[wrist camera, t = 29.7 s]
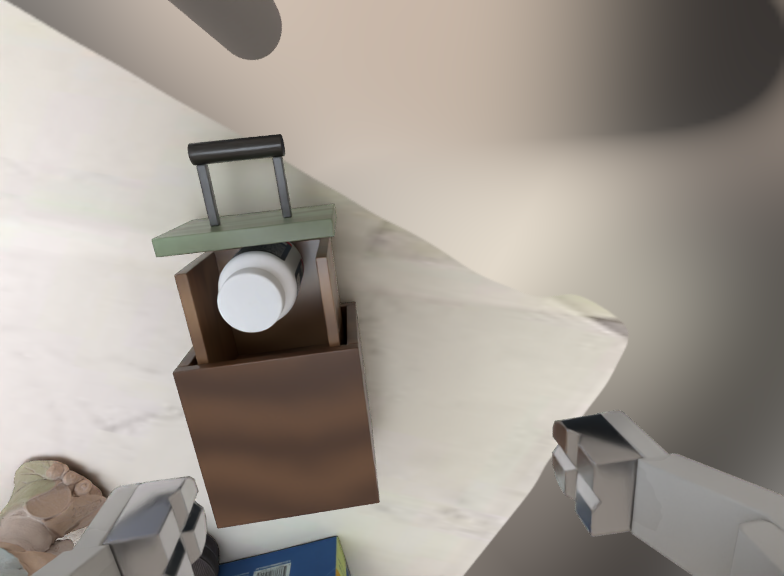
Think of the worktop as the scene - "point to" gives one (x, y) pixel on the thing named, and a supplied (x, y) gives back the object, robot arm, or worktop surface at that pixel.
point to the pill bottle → (259, 285)
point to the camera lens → (207, 559)
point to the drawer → (230, 233)
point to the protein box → (293, 562)
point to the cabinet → (282, 430)
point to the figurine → (44, 515)
